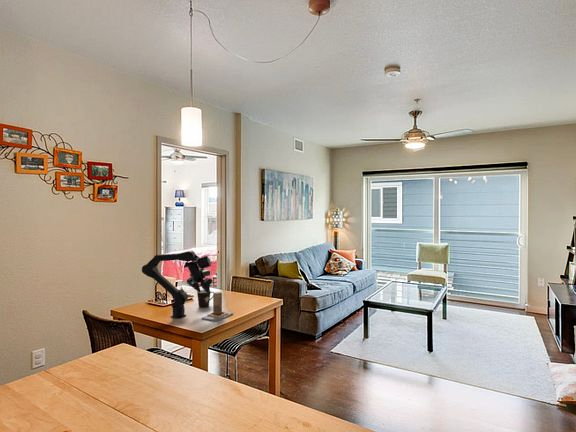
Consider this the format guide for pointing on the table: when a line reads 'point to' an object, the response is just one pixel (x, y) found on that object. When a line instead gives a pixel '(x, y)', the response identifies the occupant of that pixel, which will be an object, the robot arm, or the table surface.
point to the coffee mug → (203, 299)
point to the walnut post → (217, 303)
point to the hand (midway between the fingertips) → (204, 293)
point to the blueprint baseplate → (217, 318)
